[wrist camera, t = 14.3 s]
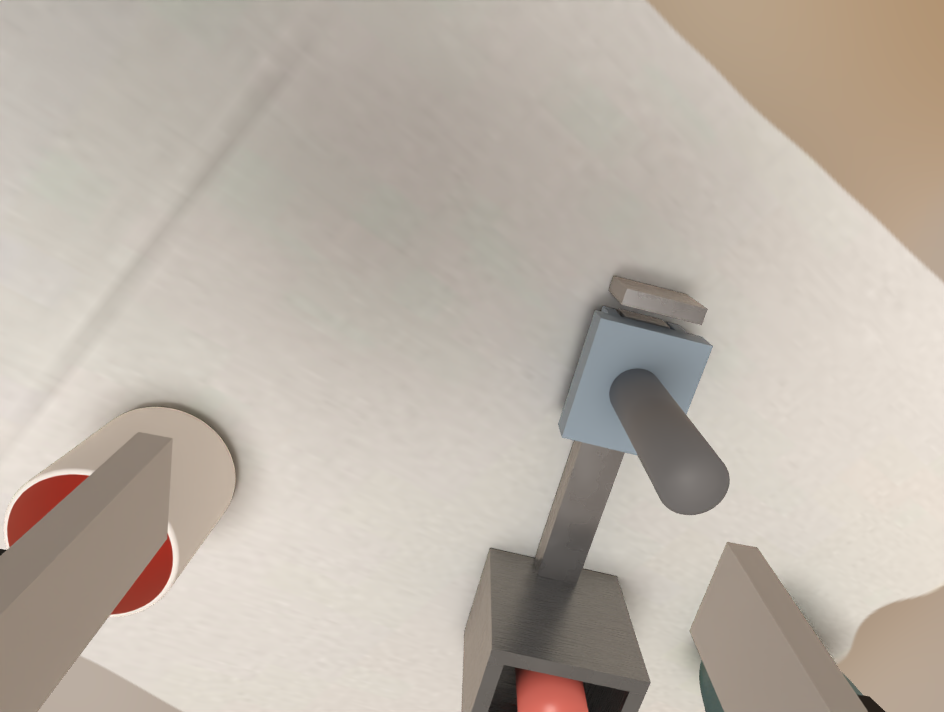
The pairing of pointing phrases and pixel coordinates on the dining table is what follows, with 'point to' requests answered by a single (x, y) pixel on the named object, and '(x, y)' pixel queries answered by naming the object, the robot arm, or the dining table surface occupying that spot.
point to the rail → (599, 451)
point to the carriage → (646, 406)
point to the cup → (190, 503)
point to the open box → (549, 637)
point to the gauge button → (548, 693)
